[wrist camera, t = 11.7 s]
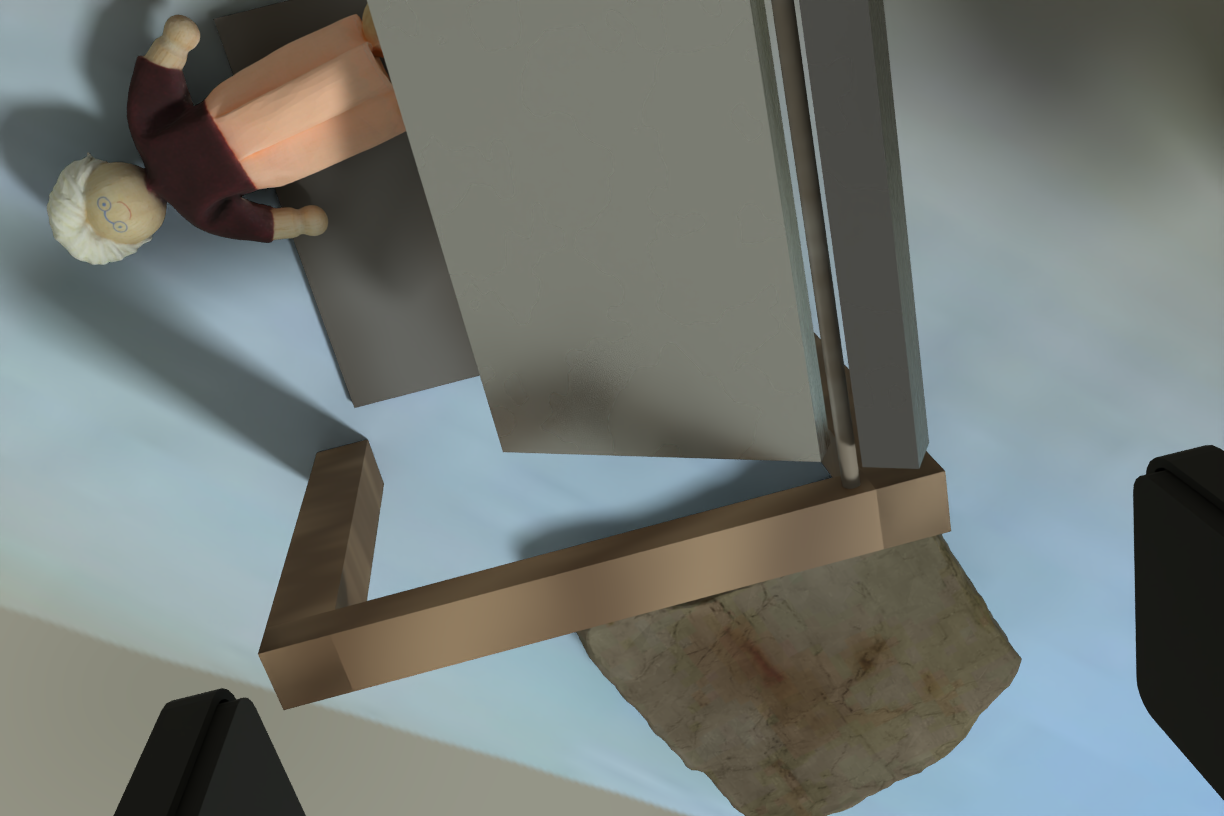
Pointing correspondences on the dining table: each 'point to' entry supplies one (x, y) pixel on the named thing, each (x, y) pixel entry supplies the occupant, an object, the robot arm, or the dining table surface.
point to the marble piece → (815, 677)
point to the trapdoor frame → (441, 354)
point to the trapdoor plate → (660, 221)
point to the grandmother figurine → (229, 141)
